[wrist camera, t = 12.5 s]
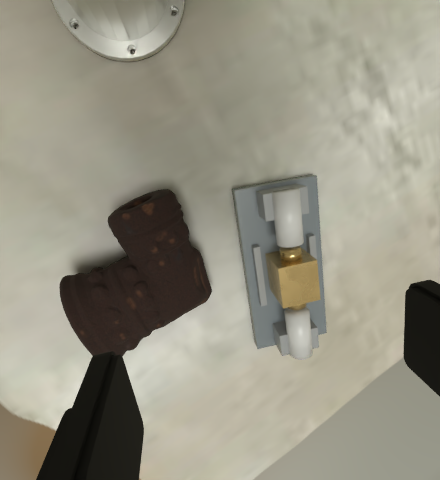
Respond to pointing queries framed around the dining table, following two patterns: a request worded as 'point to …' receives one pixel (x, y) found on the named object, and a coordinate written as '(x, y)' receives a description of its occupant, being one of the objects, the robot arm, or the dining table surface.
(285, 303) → the coupler
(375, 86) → the dining table surface
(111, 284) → the dark brown l-shaped piece
